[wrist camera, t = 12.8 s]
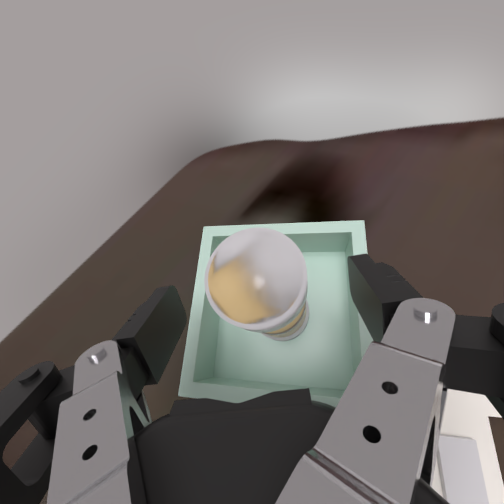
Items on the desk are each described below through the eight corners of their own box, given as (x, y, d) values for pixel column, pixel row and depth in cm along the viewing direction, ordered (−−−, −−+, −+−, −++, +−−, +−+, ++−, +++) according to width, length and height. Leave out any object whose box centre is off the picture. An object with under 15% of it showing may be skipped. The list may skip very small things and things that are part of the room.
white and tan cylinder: (254, 339, 18) (197, 326, 9) (257, 286, 20) (211, 229, 11) (309, 343, 17) (307, 331, 8) (308, 287, 19) (306, 225, 10)
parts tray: (204, 387, 18) (178, 395, 15) (221, 247, 22) (203, 226, 19) (367, 406, 16) (384, 421, 12) (354, 244, 20) (364, 220, 16)
